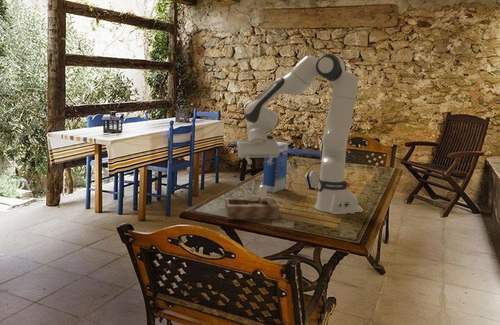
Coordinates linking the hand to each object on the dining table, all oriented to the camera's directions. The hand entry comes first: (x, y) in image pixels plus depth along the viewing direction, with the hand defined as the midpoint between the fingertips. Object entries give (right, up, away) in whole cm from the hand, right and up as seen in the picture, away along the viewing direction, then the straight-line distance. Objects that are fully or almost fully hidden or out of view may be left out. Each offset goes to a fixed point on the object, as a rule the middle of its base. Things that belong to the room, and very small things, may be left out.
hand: (260, 163), depth 203 cm
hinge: (+32, -13, +46) cm, 57 cm away
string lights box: (+9, -15, +33) cm, 37 cm away
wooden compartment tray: (-4, -22, -14) cm, 27 cm away
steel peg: (0, -21, -13) cm, 25 cm away
